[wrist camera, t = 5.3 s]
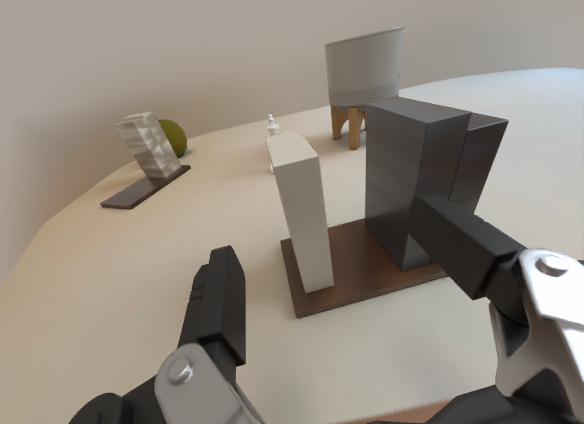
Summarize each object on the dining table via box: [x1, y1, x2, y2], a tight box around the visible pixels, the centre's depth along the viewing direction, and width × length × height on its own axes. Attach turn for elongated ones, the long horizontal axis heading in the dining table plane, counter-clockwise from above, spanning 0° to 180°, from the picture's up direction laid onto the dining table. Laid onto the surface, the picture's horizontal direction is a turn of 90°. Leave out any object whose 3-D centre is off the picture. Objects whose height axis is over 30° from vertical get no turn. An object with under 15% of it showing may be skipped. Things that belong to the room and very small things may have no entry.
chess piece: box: [267, 114, 278, 173], centre depth 40 cm, size 5×5×10 cm
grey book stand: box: [280, 97, 509, 318], centre depth 18 cm, size 15×9×13 cm, turn 101°
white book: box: [265, 130, 334, 293], centre depth 18 cm, size 3×6×12 cm, turn 11°
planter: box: [325, 26, 405, 149], centre depth 43 cm, size 13×13×18 cm
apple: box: [156, 117, 187, 157], centre depth 60 cm, size 10×10×11 cm
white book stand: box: [100, 111, 191, 209], centre depth 44 cm, size 17×9×13 cm, turn 161°
